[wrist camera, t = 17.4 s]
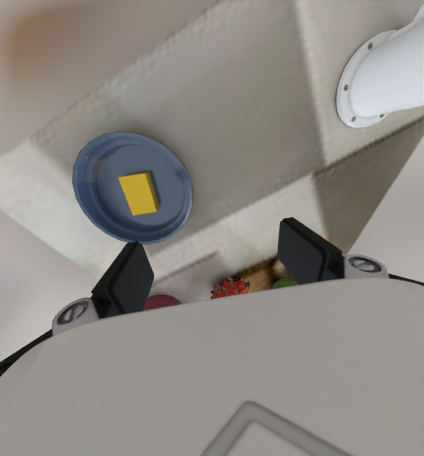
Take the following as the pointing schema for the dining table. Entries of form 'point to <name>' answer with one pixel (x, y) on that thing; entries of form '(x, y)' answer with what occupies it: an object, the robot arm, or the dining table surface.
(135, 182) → the sponge
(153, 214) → the bowl
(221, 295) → the dragon fruit
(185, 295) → the dining table surface
